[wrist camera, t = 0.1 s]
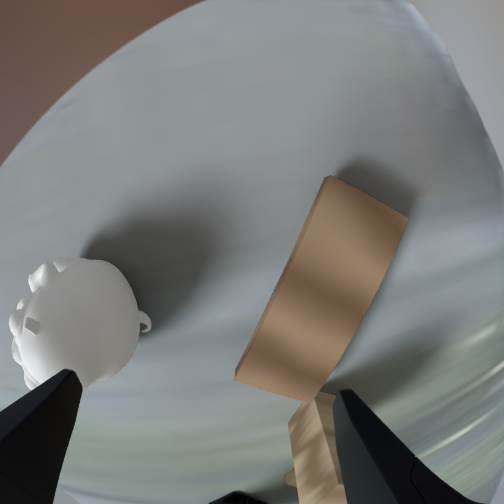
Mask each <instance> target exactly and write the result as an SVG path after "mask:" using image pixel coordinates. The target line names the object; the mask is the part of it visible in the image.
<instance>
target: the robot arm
mask: <svg viewBox="0 0 504 504" xmlns="http://www.w3.org/2000/svg"><path fill="white" fill-rule="evenodd" d="M82 391H83V387H82V384H81V382H80V380H79V378H78V376H77V374H76V372H75V371H74V370H70V369H63V370H61V371H60V372H58V373H57V374H55V375H54V376H52V377H51V378H49V379H48V380H46V381H45V382H43V383H42V384H40V385H39V386H37V387H36V388H34V389H33V390H32V391H30V392H29V393H27V394H26V395H24V396H23V397H21V398H20V399H18V400H17V401H15V402H14V403H12V404H11V405H9V406H8V407H7V408H5V409H4V410H2V411H1V412H0V504H53V500H54V496H55V492H56V488H57V484H58V480H59V476H60V472H61V468H62V465H63V461H64V457H65V454H66V451H67V447H68V444H69V441H70V438H71V435H72V431H73V428H74V425H75V421H76V417H77V412H78V408H79V403H80V399H81V395H82ZM333 419H334V430H335V442H336V450H337V455H338V460H339V465H340V470H341V474H342V479H343V484H344V489H345V494H346V499H347V504H483V503H478V502H474V501H472V500H470V499H468V498H466V497H464V496H463V495H462V494H460V493H459V492H457V491H456V490H455V489H453V488H452V487H451V486H449V485H448V484H447V483H445V482H444V481H443V480H441V479H440V478H439V477H438V476H437V475H435V474H434V473H433V472H432V471H431V470H430V469H429V468H428V467H426V466H425V465H424V464H423V463H422V462H421V461H420V460H419V459H418V458H417V457H415V455H414V454H413V453H412V452H411V451H410V450H409V449H408V448H407V447H406V446H405V444H404V443H403V442H402V441H401V440H400V439H399V438H398V437H397V436H396V435H395V434H394V433H393V432H392V431H391V430H390V429H389V428H388V427H387V426H386V425H385V424H384V423H383V422H382V421H381V420H380V419H379V418H378V416H377V415H376V414H375V413H374V412H373V411H372V410H371V409H370V408H369V407H368V406H367V405H366V404H365V403H364V402H363V401H362V400H361V399H360V398H359V396H358V395H357V394H356V393H355V392H354V391H353V390H352V389H340V390H338V392H337V395H336V397H335V400H334V403H333ZM209 504H267V503H264V502H261V501H258V500H255V499H252V498H249V497H247V496H244V495H241V494H239V493H236V492H233V493H230V494H228V495H226V496H224V497H222V498H220V499H218V500H216V501H214V502H212V503H209Z"/></svg>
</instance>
